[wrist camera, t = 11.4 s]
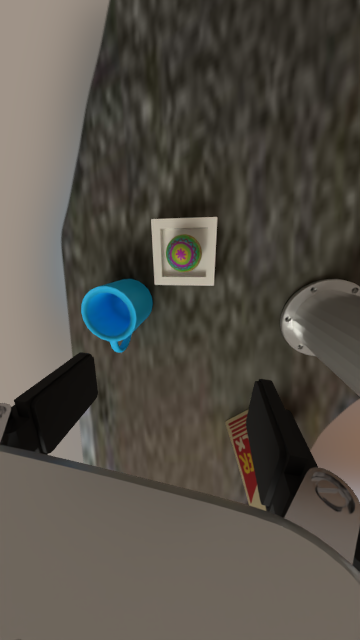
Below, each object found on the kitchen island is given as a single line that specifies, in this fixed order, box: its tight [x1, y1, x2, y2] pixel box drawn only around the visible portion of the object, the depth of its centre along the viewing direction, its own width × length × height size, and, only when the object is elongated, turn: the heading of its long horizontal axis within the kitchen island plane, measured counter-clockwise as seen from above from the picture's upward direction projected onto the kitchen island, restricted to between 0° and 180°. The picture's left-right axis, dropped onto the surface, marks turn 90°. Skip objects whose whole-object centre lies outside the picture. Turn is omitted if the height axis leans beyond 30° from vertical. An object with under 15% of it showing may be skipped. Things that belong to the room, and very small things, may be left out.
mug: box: [81, 279, 153, 353], centre depth 30 cm, size 12×8×8 cm
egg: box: [166, 234, 202, 272], centre depth 25 cm, size 5×5×6 cm
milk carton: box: [225, 409, 266, 511], centre depth 29 cm, size 9×9×20 cm
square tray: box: [151, 217, 217, 286], centre depth 28 cm, size 9×9×3 cm
